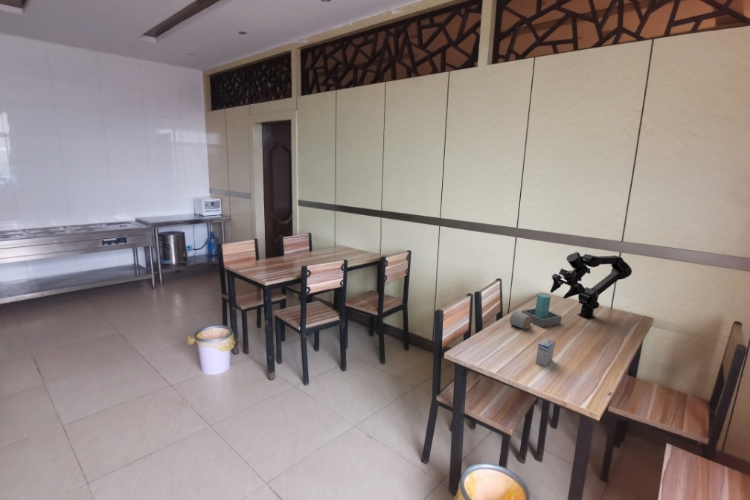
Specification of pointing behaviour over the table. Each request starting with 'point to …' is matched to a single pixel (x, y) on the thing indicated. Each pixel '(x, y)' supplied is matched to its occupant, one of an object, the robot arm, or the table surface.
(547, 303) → the handle block
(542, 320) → the box
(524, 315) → the ceramic mug
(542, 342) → the medicine box
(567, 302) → the table surface
